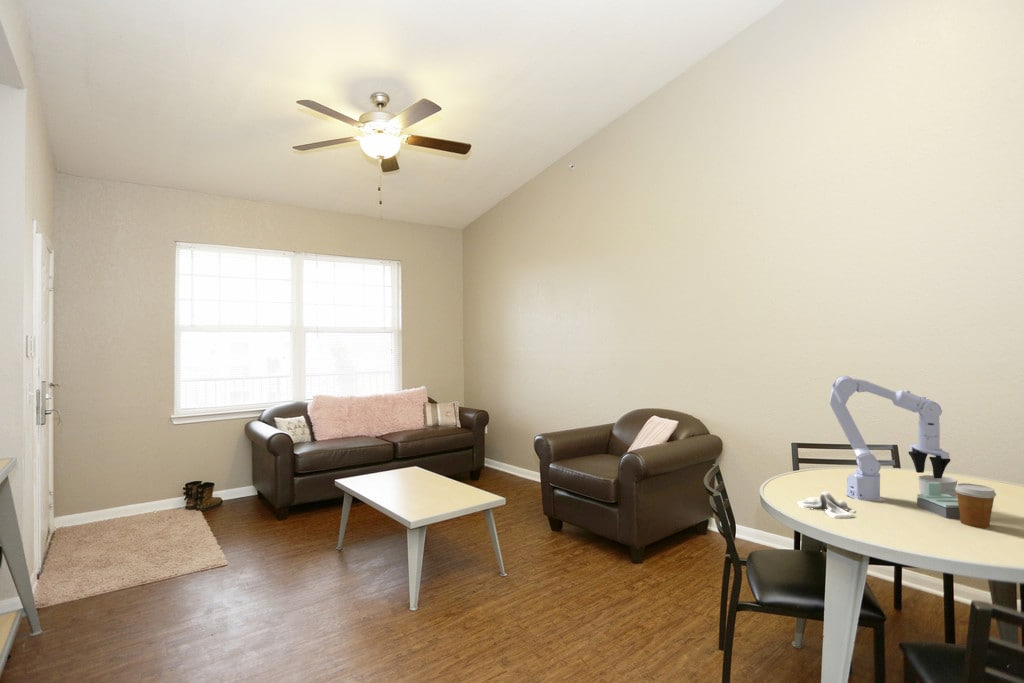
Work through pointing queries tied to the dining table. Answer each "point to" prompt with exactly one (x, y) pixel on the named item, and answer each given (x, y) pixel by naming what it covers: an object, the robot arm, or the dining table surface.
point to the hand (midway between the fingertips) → (928, 475)
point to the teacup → (946, 482)
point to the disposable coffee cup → (975, 504)
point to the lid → (938, 496)
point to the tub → (938, 509)
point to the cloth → (828, 505)
